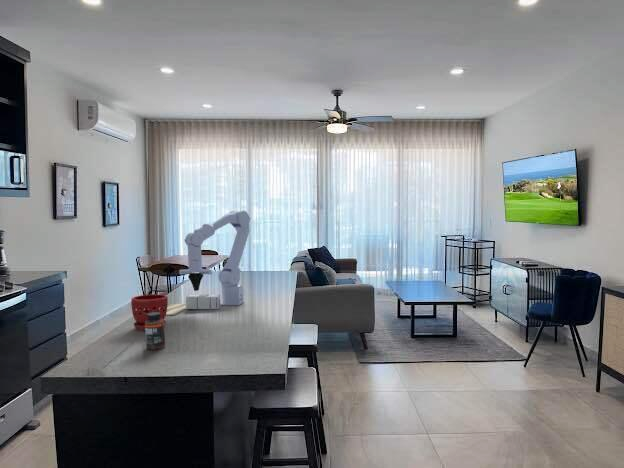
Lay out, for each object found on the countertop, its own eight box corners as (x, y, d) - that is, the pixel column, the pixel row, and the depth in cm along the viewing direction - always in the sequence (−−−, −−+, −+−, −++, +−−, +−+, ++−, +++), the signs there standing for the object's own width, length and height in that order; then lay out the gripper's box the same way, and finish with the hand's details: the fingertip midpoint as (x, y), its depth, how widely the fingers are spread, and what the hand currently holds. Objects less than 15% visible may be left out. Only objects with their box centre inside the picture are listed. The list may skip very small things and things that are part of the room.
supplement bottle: (159, 343, 153) (157, 310, 153) (169, 346, 149) (167, 312, 149) (142, 348, 149) (140, 314, 148) (152, 351, 145) (150, 316, 144)
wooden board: (195, 305, 213) (194, 304, 213) (174, 315, 193) (173, 314, 193) (171, 305, 215) (171, 303, 215) (148, 315, 196) (148, 313, 196)
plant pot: (157, 332, 168) (155, 300, 167) (125, 331, 171) (123, 299, 170) (175, 323, 181) (173, 293, 180) (145, 322, 183) (143, 293, 183)
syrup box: (185, 309, 202) (218, 309, 203) (185, 296, 202) (218, 296, 203) (188, 306, 208) (220, 306, 209) (188, 293, 207) (220, 294, 208)
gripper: (175, 261, 198) (177, 292, 199) (206, 260, 195) (208, 292, 196) (183, 259, 205) (184, 289, 206) (213, 258, 202) (214, 289, 203)
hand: (196, 290), depth 201 cm, fingers closed
